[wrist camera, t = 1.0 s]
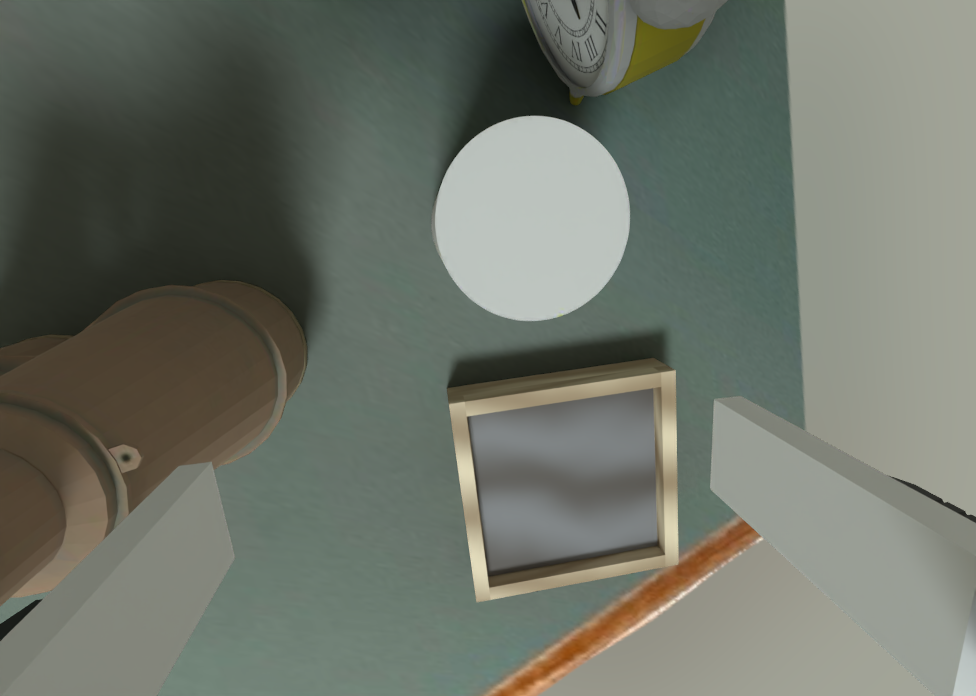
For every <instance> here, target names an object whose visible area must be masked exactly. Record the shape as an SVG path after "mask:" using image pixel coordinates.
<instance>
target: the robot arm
mask: <svg viewBox="0 0 976 696" xmlns="http://www.w3.org/2000/svg"><path fill="white" fill-rule="evenodd" d="M710 489H711V490H712V491H713V492H714V493H715V494H716V495H717V496H718V497H720V498H721V499H722V500H723V501H724V502H725V503H726V504H727V505H728V506H729V507H730V508H731V509H733V510H734V511H735V512H736V513H737V514H738V515H739V516H740V517H741V518H742V519H743V520H744V521H746V522H747V523H748V524H749V525H750V526H751V527H752V528H753V529H754V530H755V531H756V532H757V533H759V534H760V535H761V536H762V537H763V538H764V539H765V540H766V541H767V542H768V543H770V544H771V545H772V546H773V547H774V548H775V549H776V550H777V551H778V552H779V553H780V554H781V555H782V556H784V557H785V558H786V559H787V560H788V561H789V562H790V563H791V564H792V565H793V566H794V567H796V568H797V569H798V570H799V571H800V572H801V573H802V574H803V575H804V576H805V577H806V578H807V579H809V580H810V581H811V582H812V583H813V584H814V585H815V586H816V587H817V588H818V589H819V590H820V591H822V592H823V593H824V594H825V595H826V596H827V597H828V598H829V599H830V600H831V601H832V602H833V603H835V604H836V605H837V606H838V607H839V608H840V609H841V610H842V611H843V612H844V613H845V614H847V615H848V616H849V617H850V618H851V619H852V620H853V621H854V622H855V623H856V624H857V625H859V627H861V628H862V629H863V630H864V631H865V632H866V633H867V634H868V635H869V636H870V637H871V638H873V639H874V640H875V641H876V642H877V643H878V644H879V645H880V646H881V647H882V648H883V649H884V650H886V651H887V652H888V653H889V654H890V655H891V656H892V657H893V658H894V659H895V660H897V661H898V662H899V663H900V664H901V665H902V666H903V667H904V668H905V669H906V670H907V671H908V672H910V673H911V674H912V675H913V676H914V677H915V678H916V679H917V680H918V681H920V683H921V684H923V685H924V686H925V687H926V688H927V689H928V690H929V691H930V692H931V693H932V694H933V695H934V696H976V517H975V516H973V515H967V514H966V513H965V511H964V510H962V509H960V508H958V507H956V506H954V505H952V504H950V503H948V502H946V503H944V502H943V500H942V499H941V498H939V497H937V496H935V495H933V494H931V493H929V492H928V491H926V490H924V489H922V488H920V487H918V486H916V485H914V484H911V483H908V482H905V481H902V480H900V479H897V478H894V477H891V476H888V475H886V474H884V473H882V472H880V471H878V470H877V469H875V468H873V467H871V466H869V465H867V464H865V463H864V462H862V461H860V460H858V459H856V458H854V457H852V456H850V455H849V454H847V453H845V452H843V451H841V450H840V449H838V448H836V447H834V446H832V445H830V444H828V443H826V442H824V441H823V440H821V439H819V438H817V437H815V436H814V435H811V434H810V433H808V432H806V431H804V430H802V429H801V428H799V427H797V426H795V425H793V424H791V423H790V422H788V421H786V420H784V419H782V418H780V417H778V416H777V415H775V414H773V413H771V412H769V411H767V410H765V409H764V408H762V407H760V406H758V405H756V404H754V403H752V402H751V401H749V400H747V399H745V398H743V397H741V396H736V397H728V398H720V399H714V415H713V438H712V461H711V484H710ZM234 559H235V556H234V552H233V547H232V543H231V539H230V535H229V531H228V527H227V523H226V519H225V515H224V511H223V507H222V502H221V498H220V494H219V490H218V486H217V482H216V478H215V474H214V470H213V466H212V462H206V463H198V464H190V465H182V466H178V467H177V468H176V469H175V470H174V471H173V472H172V473H171V474H170V475H169V476H168V477H167V478H166V479H165V480H164V481H163V482H162V483H161V484H160V485H159V486H158V487H157V488H156V489H155V490H154V491H153V492H152V493H151V494H150V495H149V496H148V497H147V498H145V499H144V500H143V501H142V502H141V503H140V504H139V505H138V506H137V507H136V508H135V509H134V510H133V511H132V512H131V513H130V514H129V515H128V516H127V517H126V518H125V519H124V520H123V521H122V522H121V523H120V524H119V525H118V526H117V527H116V528H115V529H114V530H113V531H112V532H111V533H110V534H109V535H108V536H107V537H106V538H105V539H104V540H103V541H102V542H101V543H100V544H99V545H98V546H97V547H96V548H95V549H94V550H93V551H92V552H91V553H90V554H89V555H87V556H86V557H85V558H84V559H83V560H82V561H81V562H80V563H79V564H78V565H77V566H76V567H75V568H74V569H73V570H72V571H71V572H70V573H69V574H68V575H67V576H66V577H65V578H64V579H63V580H62V581H61V582H60V583H59V584H58V585H57V586H56V587H55V588H54V589H53V590H52V591H51V592H50V593H49V594H48V595H47V596H46V597H45V598H44V599H41V600H35V601H34V602H32V603H31V604H29V605H28V606H27V607H25V608H24V609H22V610H21V611H19V612H18V613H16V614H15V615H13V616H12V617H10V618H9V619H7V620H6V621H4V622H3V623H1V624H0V696H157V694H158V693H159V691H160V689H161V687H162V685H163V684H164V682H165V680H166V678H167V677H168V675H169V673H170V671H171V670H172V668H173V666H174V664H175V663H176V661H177V659H178V657H179V656H180V654H181V652H182V650H183V648H184V647H185V645H186V643H187V641H188V640H189V638H190V636H191V634H192V633H193V631H194V629H195V627H196V626H197V624H198V622H199V620H200V619H201V617H202V615H203V613H204V611H205V610H206V608H207V606H208V604H209V603H210V601H211V599H212V597H213V596H214V594H215V592H216V590H217V589H218V587H219V585H220V583H221V582H222V580H223V578H224V576H225V574H226V573H227V571H228V569H229V567H230V566H231V564H232V562H233V560H234Z"/></svg>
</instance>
